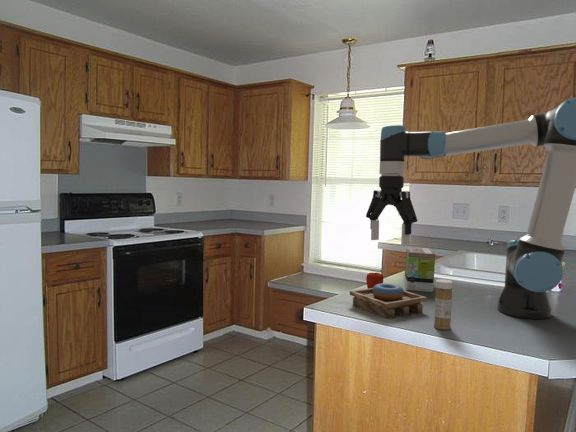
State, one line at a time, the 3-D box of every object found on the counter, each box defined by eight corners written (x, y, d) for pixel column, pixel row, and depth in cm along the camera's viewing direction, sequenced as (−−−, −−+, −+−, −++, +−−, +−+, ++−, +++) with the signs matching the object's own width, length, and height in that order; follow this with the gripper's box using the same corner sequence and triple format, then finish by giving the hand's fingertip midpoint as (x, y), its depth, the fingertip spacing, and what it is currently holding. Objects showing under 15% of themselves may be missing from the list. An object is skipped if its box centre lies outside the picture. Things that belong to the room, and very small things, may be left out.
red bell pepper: (374, 295, 158) (374, 275, 157) (362, 291, 163) (362, 271, 162) (386, 293, 161) (387, 273, 160) (374, 289, 166) (375, 270, 166)
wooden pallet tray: (425, 311, 139) (426, 297, 138) (385, 319, 130) (386, 303, 130) (387, 299, 153) (388, 285, 153) (349, 305, 144) (349, 291, 144)
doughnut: (381, 290, 149) (382, 277, 148) (409, 297, 142) (409, 284, 141) (366, 299, 141) (366, 285, 140) (394, 307, 135) (395, 292, 134)
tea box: (434, 292, 164) (435, 253, 163) (406, 290, 166) (407, 252, 165) (429, 283, 179) (431, 247, 178) (404, 282, 181) (405, 246, 180)
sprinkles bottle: (446, 325, 126) (448, 278, 125) (453, 330, 121) (455, 282, 120) (431, 325, 126) (433, 278, 125) (437, 330, 121) (439, 282, 120)
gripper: (431, 175, 130) (428, 246, 131) (373, 176, 151) (371, 237, 152) (413, 174, 126) (410, 248, 127) (356, 175, 147) (354, 238, 149)
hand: (389, 242), depth 140 cm, fingers open, 13 cm apart
